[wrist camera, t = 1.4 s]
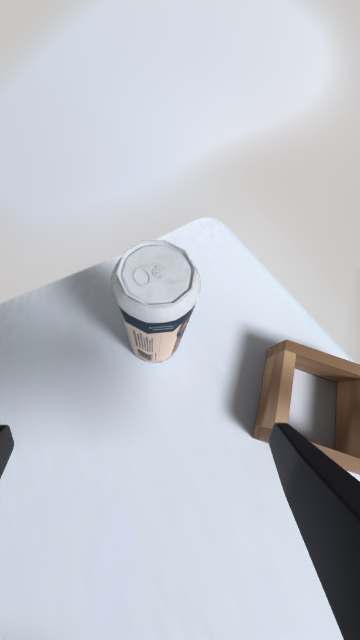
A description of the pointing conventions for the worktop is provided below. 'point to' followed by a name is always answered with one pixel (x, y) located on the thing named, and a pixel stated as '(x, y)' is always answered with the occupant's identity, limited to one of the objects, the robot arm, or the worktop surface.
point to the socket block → (352, 392)
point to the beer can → (155, 297)
